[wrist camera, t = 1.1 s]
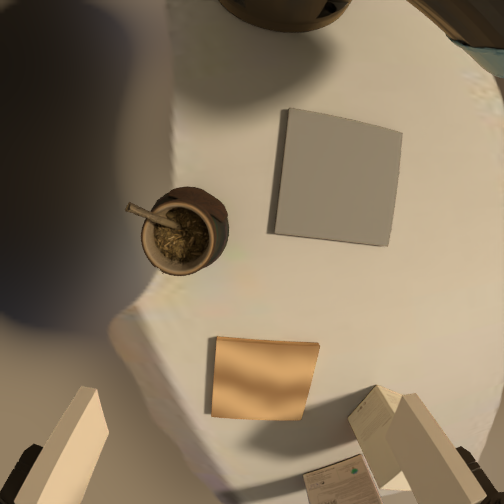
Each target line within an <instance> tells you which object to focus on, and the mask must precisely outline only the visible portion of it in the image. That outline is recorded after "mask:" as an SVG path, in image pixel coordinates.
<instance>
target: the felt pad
mask: <svg viewBox="0 0 504 504" xmlns="http://www.w3.org/2000/svg"><path fill="white" fill-rule="evenodd" d="M401 146H402V133H401V132H398V131H394V130H391V129H387V128H383V127H380V126H376V125H372V124H368V123H364V122H359V121H355V120H351V119H346V118H342V117H337V116H332V115H327V114H322V113H317V112H311V111H306V110H300V109H294V108H289V110H288V119H287V128H286V137H285V146H284V155H283V163H282V172H281V180H280V189H279V197H278V205H277V213H276V221H275V229H274V233H276V234H285V235H294V236H303V237H312V238H321V239H329V240H338V241H346V242H355V243H363V244H371V245H379V246H387V247H388V244H389V239H390V233H391V227H392V221H393V214H394V208H395V200H396V193H397V185H398V177H399V167H400V157H401Z"/></svg>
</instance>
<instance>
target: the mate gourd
mask: <svg viewBox="0 0 504 504" xmlns="http://www.w3.org/2000/svg"><path fill="white" fill-rule="evenodd" d="M125 211H126V212H130V213H134V214H135V215H138V216H142V217H145V218H146V220H145V221H144V224H143V227H142V232H141V242H142V247H143V250H144V253H145V255H146V256H147V258H148V260H149V261H150V262H151V264H152V265H153V266H154V267H157V268H159V269H160V270H161V271H162V272H163V273H166V274H169V275H174V276H186V275H190V274H193V273H196V272H197V271H199V270H200V269H202V268H205V267H207V266H209V265H211V264H212V263H213V262H214V261H216V260H217V259H218V258H219V256H220V255H221V253H222V252H223V251H224V249H225V247H226V244H227V241H228V236H229V224H228V219H227V217H228V213H227V211H226V209H225V206H224V205H223V204H222V203H221V201H219V200H218V199H216V198H215V197H214V196H212V195H211V194H209V193H207V192H206V191H204V190H202V189H199V188H196V187H180V188H176V189H173V190H171V191H170V192H169V193H167V194H165V195H164V196H163V197H161V198H160V199H158V200H157V202H156V204H155V205H154V206H153V208H152V210H151V212H149V211H147V210H145V209H143V208H141V207H138V206H137V205H135V204H132V203H131V202H129V203H128V205H127V207H126V209H125ZM163 273H162V274H163Z"/></svg>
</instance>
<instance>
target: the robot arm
mask: <svg viewBox="0 0 504 504" xmlns="http://www.w3.org/2000/svg"><path fill="white" fill-rule="evenodd" d="M219 1H220V2H221V4H222V5H223V6H224V7H225V8H226V9H227V10H228V11H229V12H231V13H232V14H233V15H235V16H236V17H238V18H240V19H242V20H243V21H245V22H248V23H250V24H252V25H255V26H258V27H261V28H264V29H269V30H274V31H280V32H305V31H311V30H316V29H319V28H322V27H325V26H327V25H329V24H331V23H333V22H334V21H336V20H337V19H338V18H339V17H340V16H341V15H342V14H343V13H344V11H345V10H346V9H347V7H348V6H349V4H350V3H351V1H352V0H219ZM406 1H408V2H409V3H410V4H412V5H413V6H414V7H416V8H417V9H418V10H419V11H421V12H422V13H423V14H424V15H425V16H427V17H428V18H429V19H430V20H431V21H433V22H434V23H435V24H436V25H437V26H438V27H439V28H440V29H441V30H442V31H444V32H445V33H446V36H447V37H448V38H449V39H450V40H451V41H452V42H453V43H454V44H455V45H457V46H459V47H460V48H462V49H463V50H464V51H465V52H467V53H468V54H469V55H470V56H471V57H472V58H473V59H474V60H475V61H476V62H477V63H478V64H479V65H480V66H481V67H482V68H483V69H485V70H486V71H487V72H489V73H491V74H493V75H495V76H497V77H501V78H504V0H406ZM108 434H109V431H108V428H107V425H106V421H105V418H104V414H103V411H102V407H101V403H100V400H99V396H98V392H97V389H94V388H89V387H84V386H81V387H80V389H79V390H78V392H77V393H76V395H75V396H74V398H73V400H72V401H71V403H70V404H69V406H68V408H67V409H66V411H65V413H64V414H63V416H62V417H61V419H60V421H59V422H58V424H57V426H56V427H55V429H54V431H53V432H52V434H51V436H50V437H49V439H48V441H47V442H46V444H45V446H44V447H41V446H39V445H36V444H33V445H32V446H30V447H29V448H27V449H26V450H25V451H24V452H23V454H22V455H21V457H20V459H19V462H17V464H16V466H15V469H13V470H12V472H11V474H10V475H9V477H8V479H7V481H6V482H5V484H4V486H3V488H2V490H1V491H0V504H81V501H82V498H83V496H84V493H85V491H86V488H87V486H88V483H89V480H90V478H91V475H92V473H93V470H94V468H95V465H96V463H97V460H98V458H99V455H100V453H101V451H102V448H103V446H104V443H105V441H106V439H107V436H108ZM385 438H386V440H387V442H388V444H389V446H390V448H391V450H392V452H393V454H394V456H395V458H396V460H397V462H398V464H399V466H400V468H401V470H402V472H403V474H404V476H405V478H406V480H407V482H408V484H409V486H410V488H411V490H412V492H413V494H414V496H415V498H416V500H417V502H418V504H504V492H498V491H497V490H496V489H495V488H494V486H493V485H492V483H491V482H490V480H489V479H488V477H487V476H486V474H485V473H484V472H483V470H482V469H480V466H479V464H478V463H477V462H476V460H475V459H474V457H473V456H472V455H471V453H470V452H469V451H467V450H466V449H464V448H463V447H462V446H460V447H458V448H455V447H454V446H453V444H452V443H451V441H450V440H449V438H448V437H447V436H446V434H445V433H444V431H443V430H442V429H441V427H440V426H439V424H438V423H437V422H436V420H435V419H434V417H433V416H432V415H431V413H430V412H429V410H428V409H427V408H426V406H425V405H424V404H423V402H422V401H421V399H420V398H419V397H418V395H417V394H416V393H414V394H407V395H402V397H401V400H400V402H399V405H398V407H397V410H396V412H395V414H394V417H393V419H392V422H391V424H390V426H389V428H388V431H387V433H386V435H385Z"/></svg>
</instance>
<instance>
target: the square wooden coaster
mask: <svg viewBox="0 0 504 504" xmlns="http://www.w3.org/2000/svg"><path fill="white" fill-rule="evenodd" d="M319 349H320V345H319V343H310V342H287V341H269V340H254V339H241V338H229V337H218V336H217V342H216V355H215V369H214V383H213V397H212V413H211V417H219V418H232V419H251V420H301V418H302V415H303V411H304V408H305V404H306V400H307V397H308V393H309V389H310V385H311V381H312V377H313V373H314V369H315V365H316V361H317V357H318V353H319Z"/></svg>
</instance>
